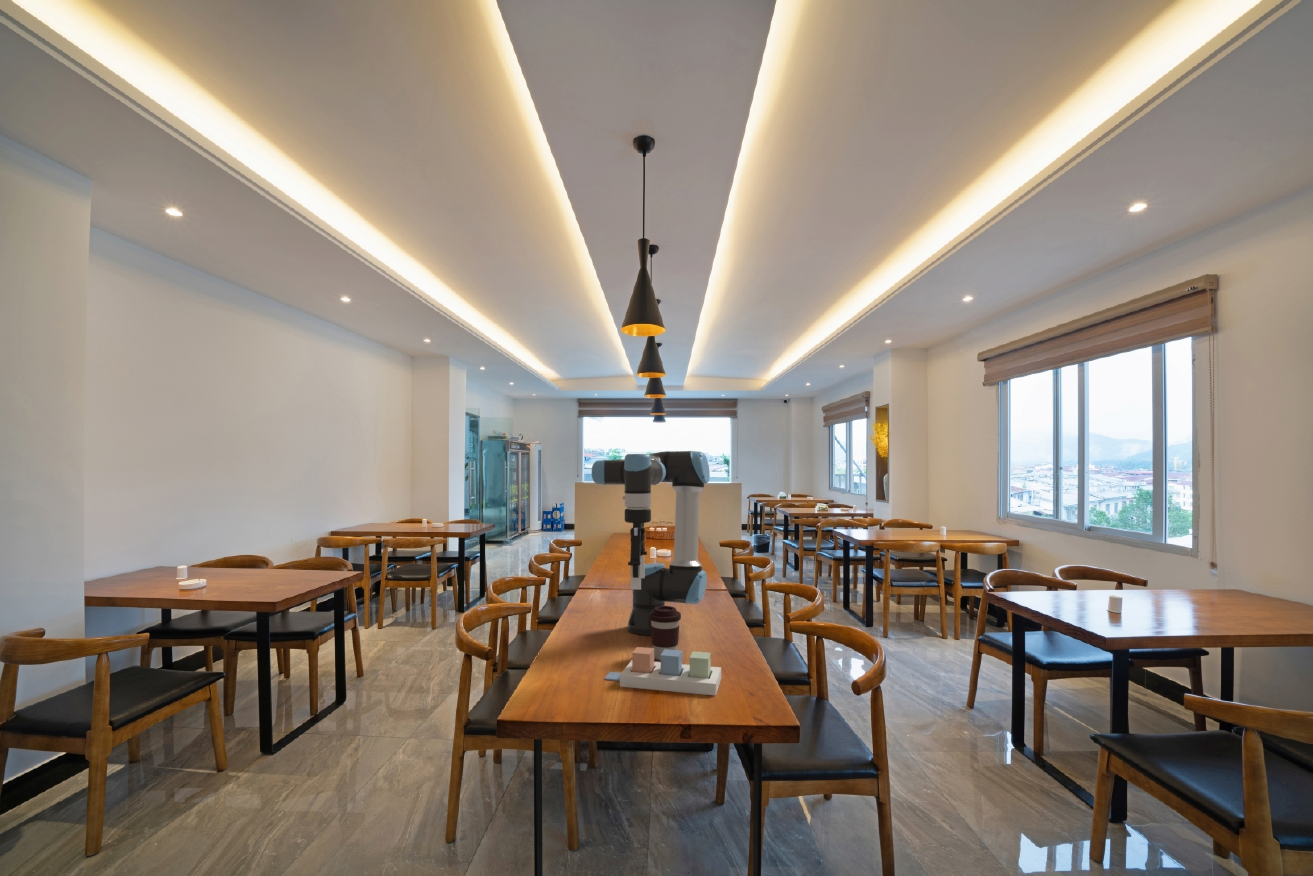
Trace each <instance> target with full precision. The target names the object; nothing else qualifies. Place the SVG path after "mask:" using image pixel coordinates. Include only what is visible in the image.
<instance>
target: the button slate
mask: <svg viewBox="0 0 1313 876" xmlns="http://www.w3.org/2000/svg"><path fill="white" fill-rule="evenodd" d="M660 662H661V675H672V676H679V674H680V672H681V671H682V664H683V650H681V649H680V650H679V649H677V650H669V649H664V651H663V652H662V654H661V660H660Z"/></svg>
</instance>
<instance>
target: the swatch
mask: <svg viewBox="0 0 1313 876" xmlns="http://www.w3.org/2000/svg"><path fill="white" fill-rule="evenodd" d="M621 673H622V672H618V671H609V672H608V674H607V675H606V676H604V680H605V681H613V682H614V681H615V682H620V674H621Z"/></svg>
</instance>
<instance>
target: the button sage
mask: <svg viewBox="0 0 1313 876" xmlns="http://www.w3.org/2000/svg"><path fill="white" fill-rule="evenodd" d="M711 656H712V655H711V652H706V651H705V652H703V651H692V652H691V653H690V656H689V665H690V677H694V678H705V679H708V678H709V675H710V672H711V667H712V666H711V664H712V662H711Z"/></svg>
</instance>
